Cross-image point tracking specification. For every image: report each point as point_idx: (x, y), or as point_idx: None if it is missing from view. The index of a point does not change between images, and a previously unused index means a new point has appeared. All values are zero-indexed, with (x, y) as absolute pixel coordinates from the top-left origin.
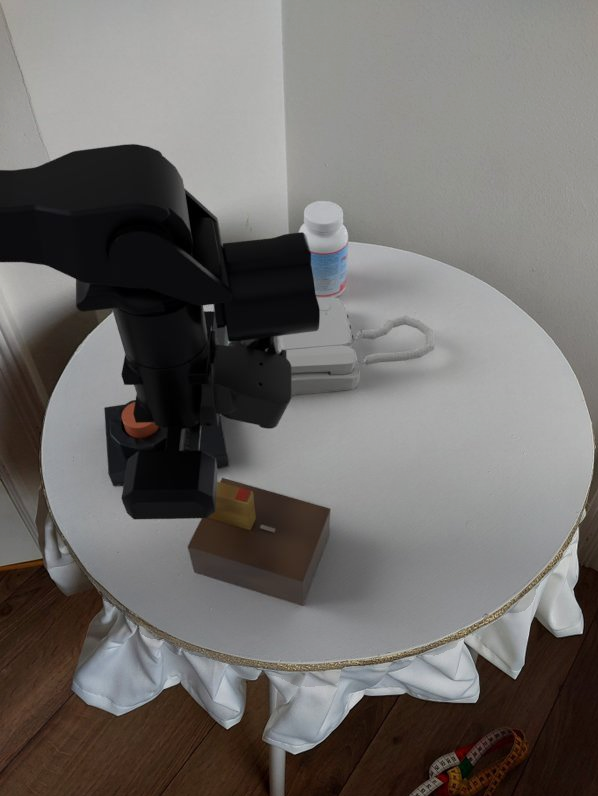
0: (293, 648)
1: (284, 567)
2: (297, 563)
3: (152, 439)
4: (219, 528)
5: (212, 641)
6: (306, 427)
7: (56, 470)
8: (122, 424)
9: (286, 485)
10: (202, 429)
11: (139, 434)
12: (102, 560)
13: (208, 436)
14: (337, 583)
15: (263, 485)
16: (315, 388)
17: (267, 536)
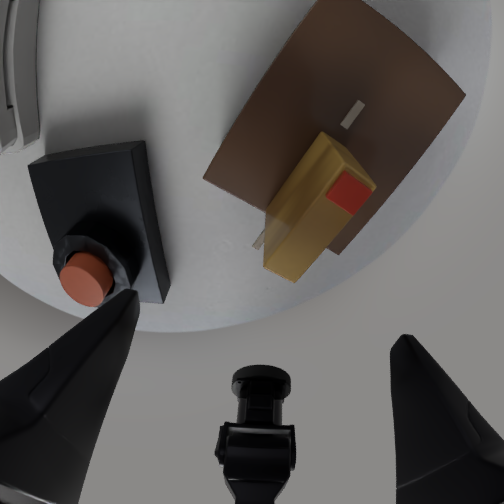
0: (465, 120)
1: (435, 112)
2: (437, 88)
3: (114, 267)
4: None
5: (421, 207)
6: (89, 20)
7: (150, 326)
8: None
9: (196, 50)
10: (137, 292)
11: (109, 283)
12: (273, 302)
13: (98, 177)
14: (402, 24)
15: (189, 87)
16: (31, 17)
17: (368, 119)
